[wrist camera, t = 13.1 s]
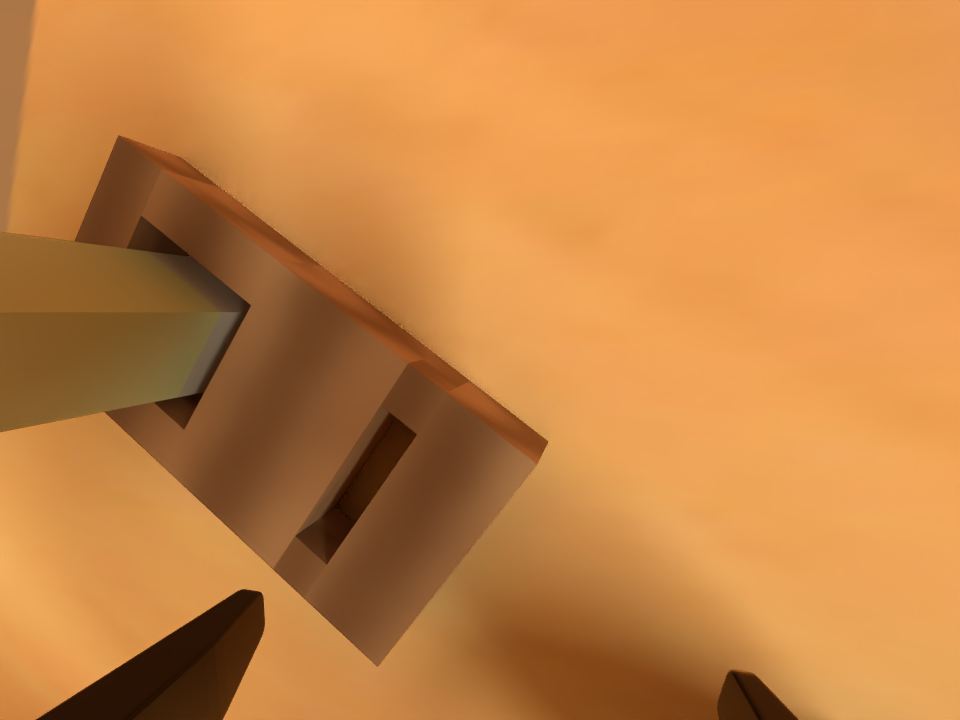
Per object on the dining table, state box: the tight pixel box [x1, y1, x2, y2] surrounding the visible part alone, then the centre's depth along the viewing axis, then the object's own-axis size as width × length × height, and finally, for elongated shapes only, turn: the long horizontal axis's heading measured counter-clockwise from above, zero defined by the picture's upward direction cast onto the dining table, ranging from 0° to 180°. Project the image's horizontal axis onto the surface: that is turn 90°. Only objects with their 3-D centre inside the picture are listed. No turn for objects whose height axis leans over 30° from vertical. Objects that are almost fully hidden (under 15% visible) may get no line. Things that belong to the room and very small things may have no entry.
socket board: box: [75, 135, 548, 667], centre depth 21 cm, size 22×11×3 cm, turn 55°
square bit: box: [0, 232, 251, 432], centre depth 17 cm, size 4×4×13 cm
